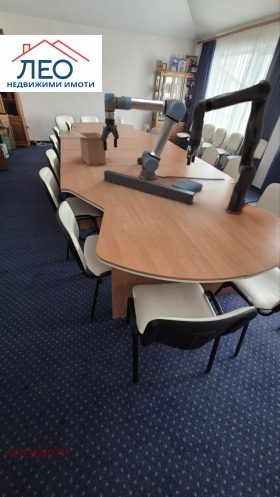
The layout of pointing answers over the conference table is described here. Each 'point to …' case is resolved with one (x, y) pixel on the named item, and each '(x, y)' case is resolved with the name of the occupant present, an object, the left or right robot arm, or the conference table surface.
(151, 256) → the conference table surface
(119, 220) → the conference table surface
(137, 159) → the laser sight
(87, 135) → the box
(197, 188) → the book
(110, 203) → the conference table surface
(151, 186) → the post
